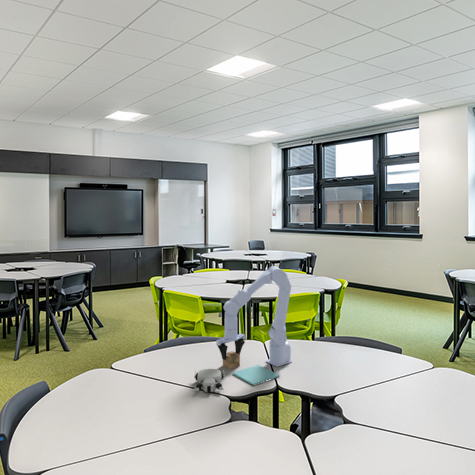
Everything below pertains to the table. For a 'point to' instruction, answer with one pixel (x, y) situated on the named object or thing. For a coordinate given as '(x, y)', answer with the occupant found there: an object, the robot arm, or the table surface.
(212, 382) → the robot toy
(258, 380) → the teal board
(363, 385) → the table surface
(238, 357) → the walnut cube
